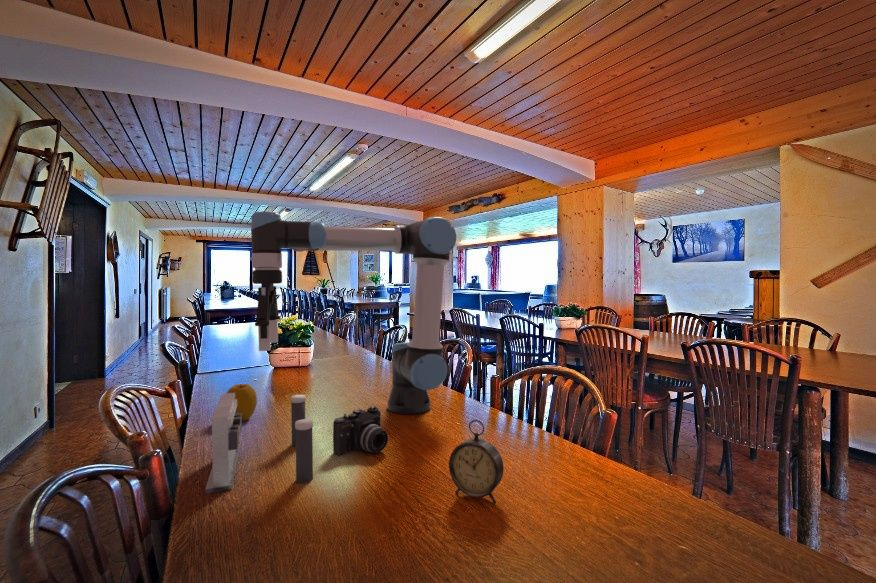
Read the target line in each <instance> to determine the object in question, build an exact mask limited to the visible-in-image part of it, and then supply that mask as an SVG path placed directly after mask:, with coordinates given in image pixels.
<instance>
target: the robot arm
mask: <svg viewBox="0 0 876 583" xmlns="http://www.w3.org/2000/svg"><path fill="white" fill-rule="evenodd" d="M250 219H251V222H250V225H251V226H250V231H251V232H250V234H251V235H250V237H251V253H252V254H251V256H250V257H249V261H250V262H251V263H252V268H253V269H254V270H252V272H251V274H252V275H251V276H252V284H254V285H259V284H260V285H261V286H260V287H258V289H257V291H258V293H257V294H258V299H257V309H256V310H257V311H256V321H255V322H254V326H255V327H257V328H258V329H257V330H258V351H259V352H265V351H267V352H268V351H269V352H270V351H271V350H272V349H271V343H272V344H273V343H274V344H275V343H278V342H279V329H278V328H279V325H278V324H279V323H278V320H281V315H279V309H278V308H279V307H278V299H277V297H278V296H277V286H275V284H282V283H283V271H282V270H281V268H283V257H282V256H283V254H282V248H283V249H291V250H293V251H294V252H308V251H310V252H311V251H312V252H313V251H314V252H316V251H321V252H323V251H325V252H326V251H327V252H328V251H332V252H333V251H335V252H337V251H338V252H339V251H340V252H341V251H343V252H344V251H345V252H346V251H348V252H349V251H351V252H352V251H353V252H355V251H359V252H361V251H368V252H371V251H372V252H373V251H376V252H377V251H381V252H383V251H385V252H386V251H390V252H391V251H392V252H394V253H395V254H399V255H401V254H402V255H403V254H404V255H412V260H413V261H414V262H415V264H416V265H417V266H416V279H415V281H416V282H415V293H414V294H415V295H414V310H413V324H412V335H411V336H412V338H411V340H410V341H409V342H408V341H407V342H397V343H396V342H395V343H394V344H393V345H392V350H391V361H392V364H391V366H392V367H391V370H392V371H391V372H392V374H391V375H392V376H391V378H392V379H391V380H392V384H391V385H392V386H391V389H390V393H389V396H388V399H387V405H386V406H387V407H386V408H387V410H388V411H389V412H392V413H395V414H398V415H400V414H401V415H416V414H422V413H425V412H427V411H429V410H431V408H432V407H431V406H432V404H431V398H430V394H429V391H431V390H434V389H437V388H438V387H439V386H440V385H441V384H443V382H444V381H445V379H446V377H447V376H448V375H447V374H448V364H447V362H446V360H445V359H444V357H443V356H444V355H443V354H444V346H443V345H442V343H441V342H440V329H441V317H442V315H441V314H442V302H443V300H442V298H443V289H444V288H443V286H444V275H445V274H444V271H445V266H446V265H448V263H449V262H450V255H451V254H450V253H451V251H452V250H453V249H454V248H455V246H456V243H457V232H456V229H455V227H454V226H453V225H452V223H451V222H450V221H449V220H448V219H447V218H444V217H441V216H434V217H432V216H430V217H427V218H425V219H423V220H420V221H417V222H413V223H410V224H404V225H403V224H402V225H401V224H400V225H399V224H398V225H397V224H396V225H394V227H392V228H391V227H390V228H389V227H348V226H347V227H346V226H345V227H343V226H341V227H339V226H334V227H333V226H326V225H325V224H324V223H323V222H320V221H319V222H318V221H313V220H312V221H300V220H299V221H298V220H297V221H296V220H285V219H282V216H281V214H280V213H278V212H276V211H275V212H274V211H255V212H253V213H252V214H251V218H250Z"/></svg>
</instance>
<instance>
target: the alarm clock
mask: <svg viewBox="0 0 876 583" xmlns="http://www.w3.org/2000/svg"><path fill="white" fill-rule="evenodd" d="M474 422H477V423H479V424H480V425H481V426H482V430H481V432H480V433H478V432H473V431H472V428H471V425H472V423H474ZM468 429H469V431H470V432H471V434H473V436H474V437H473V438H469V439H466V440H464V441H463V442H461V443H460V444H458V445H457V446H455V448H454V449H453V450H452V451H451V453H450V456H449V458H448V459H449V460H448V470H449V475H450V478H451V480H452V482H453V483H454V485H455V486H456V488H457V489H456V490H455V491H454V493H455V494H456V495H459V492H460V491H461V492H462V493H463V494H465V495H466V496H469V497H472V498H484V497H486V496H489V498H490V500H491V501H492V503H493V504H494V505H495V504H497V501H496V499H495V497H494V494H493V491H494V490H495V489H496V488H497V486H498V485H499V484H500V483H501V481H502V479H503V476H504V471H505V470H504V469H505V468H504V462H503V457H502V456H501V454H500V452H499V450H498V449H497V448H496V447H495V446H494V445H493V444H492V443H491V442H489V441H488V440H486V439H483V438H481V437H479V436H482V435H483V434H484V432H485V426H484V424H483V422H482V421H480V420H478V419H472V420H471V421H470V422H469V424H468Z"/></svg>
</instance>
